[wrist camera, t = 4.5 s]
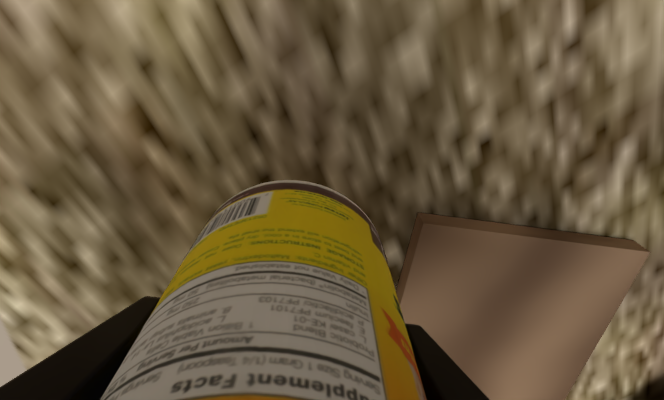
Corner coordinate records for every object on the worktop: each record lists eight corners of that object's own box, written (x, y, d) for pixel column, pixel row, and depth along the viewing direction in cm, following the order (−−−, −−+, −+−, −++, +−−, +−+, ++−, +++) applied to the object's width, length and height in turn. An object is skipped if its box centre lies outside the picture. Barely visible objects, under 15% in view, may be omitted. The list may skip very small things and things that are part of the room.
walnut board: (633, 240, 17) (650, 252, 16) (547, 394, 21) (558, 410, 20) (417, 212, 16) (423, 223, 15) (372, 378, 20) (374, 394, 19)
